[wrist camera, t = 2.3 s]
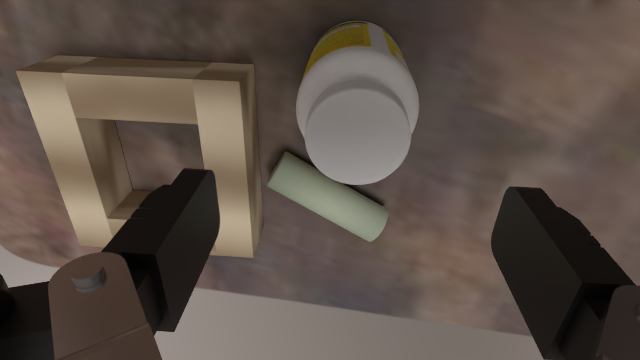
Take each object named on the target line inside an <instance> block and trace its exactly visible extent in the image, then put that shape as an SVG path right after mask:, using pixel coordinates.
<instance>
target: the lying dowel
mask: <svg viewBox="0 0 640 360" xmlns="http://www.w3.org/2000/svg"><path fill="white" fill-rule="evenodd" d="M266 186H267V187H269V188H271V189H273V190H275V191H277V192H278V193H280V194H282V195H284V196H286V197H288V198H289V199H291V200H293V201H295V202H297V203H299V204H300V205H302V206H304V207H306V208H308V209H310V210H312V211H313V212H315V213H317V214H319V215H321V216H323V217H324V218H326V219H328V220H330V221H332V222H334V223H335V224H337V225H339V226H341V227H343V228H345V229H347V230H348V231H350V232H352V233H354V234H356V235H358V236H359V237H361V238H363V239H365V240H367V241H369V242H370V241H373V240H374V239H376V238H377V237H378V236H379V234H380V233H381V232H382V230H383V228H384V226H385V224H386V222H387V218H388V210H387V209H386V208H384V207H383V206H381V205H379V204H377V203H376V202H374V201H372V200H370V199H369V198H367V197H365V196H363V195H362V194H360V193H358V192H357V191H355V190H353V189H351V188H350V187H348V186H346V185H344V184H343V183H341V182H338V181H335V180H333V179H331V178H329V177H328V176H326V175H325V174H323V173H322V172H321V171H320V170H318V169H316V168H315V167H313V166H311V165H309V164H308V163H306V162H304V161H302V160H301V159H299V158H297V157H295V156H294V155H292V154H290V153H288V152H287V151H285V152H284V153H283V155H282V157H281V158H280V160H279V161H278V163H277V164H276V166H275V167H274V169H273V171H272V173H271V175H270V177H269V179H268V182H267V184H266Z"/></svg>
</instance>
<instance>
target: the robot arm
mask: <svg viewBox="0 0 640 360" xmlns="http://www.w3.org/2000/svg"><path fill="white" fill-rule="evenodd" d="M219 228H220V212H219V204H218V196H217V188H216V180H215V175H214V172H213V171H212V170H208V169H190V168H184V169H183V170H182V171H181V172H180V174H179V175H178V176H177V178H176V179H175V180H174V182H173V183H172V184H171V185H163V186H161V187H160V188H158V189H156V190H155V191H153V192H151V193H150V194H148V195H147V197H146V198H145V199H144V200H143V201H142V203H141V204H140V205H139V208H138V209H136V210H135V211H134V212H133V214H132V215H131V218H130V219H128V220H127V221H126V222H125V223H124V225H123V226H122V227H121V228H120V229H119V231H118V232H117V233H116V234H115V236H114V237H113V238H112V239H111V240H110V242H109V243H108V244H107V245H106V246H105V248H104V249H103V250H102V251H101V252H99V253H92V254H88V255H84V256H82V257H79V258H77V259H74V260H72V261H70V262H69V263H67V264H65V265H64V266H63V267H61V268H60V269H59V270H58V271H57V272H56V273H55V274H54V275H53V276H52V278H51V279H50V281H47V282H42V283H35V284H29V285H23V286H18V287H11V288H8V286H7V284H6V282H5V280H4V279H3V276H2V275H1V274H0V360H162V358H161V355H160V352H159V349H158V346H157V344H156V341H155V338H154V335H155V333H156V331H167V332H174V331H175V329H176V327H177V324H178V323H179V320H180V318H181V316H182V314H183V312H184V309H185V307H186V305H187V303H188V301H189V298H190V296H191V294H192V292H193V290H194V287H195V285H196V283H197V281H198V279H199V276H200V274H201V272H202V270H203V268H204V266H205V263H206V261H207V259H208V257H209V255H210V252H211V250H212V248H213V246H214V244H215V241H216V239H217V237H218V233H219ZM590 234H591V233H590V232H589V231H588V230H587V228H586V227H585V226H584V225H583V224H582V223H581V221H580V220H579V219H577V218H576V217H574V216H573V215H571V214H570V213H568V212H567V211H565V210H564V209H562V208H561V207H557V206H556V205H555V204H554V203H553V201H552V200H551V199H550V198H549V197H548V195H547V194H546V193H545V192H544V191H543V190H542V189H541V188H530V187H509V188H508V189H507V190H506V192H505V194H504V197H503V200H502V203H501V206H500V210H499V213H498V216H497V219H496V222H495V226H494V229H493V232H492V237H491V247H492V252H493V255H494V257H495V260H496V262H497V264H498V266H499V268H500V270H501V272H502V274H503V276H504V278H505V280H506V282H507V284H508V286H509V289H510V291H511V293H512V295H513V297H514V299H515V301H516V303H517V305H518V307H519V309H520V311H521V313H522V315H523V317H524V320H525V322H526V324H527V326H528V328H529V330H530V332H531V334H532V336H533V338H534V340H535V342H536V344H537V346H538V349H539V351H540V353H541V355H542V357H543V359H546V360H640V286H636V285H635V284H634V283H633V281H632V280H631V279H630V278H629V277H628V276H627V275H626V273H625V272H624V271H623V270H622V269H621V268H620V266H619V265H618V264H617V263H616V262H615V261H614V260H613V258H612V257H611V256H610V255H609V254H608V253H607V251H606V250H605V249H604V248H601V247H600V243H599V242H598V241H597V240H596V239H595V238H594V236H591V235H590Z"/></svg>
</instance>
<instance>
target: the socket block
mask: <svg viewBox="0 0 640 360" xmlns="http://www.w3.org/2000/svg"><path fill="white" fill-rule="evenodd" d="M16 73H17V76H18V78H19V81H20V84H21V86H22V89H23V92H24V95H25V97H26V100H27V103H28V105H29V108H30V111H31V113H32V116H33V119H34V121H35V124H36V127H37V130H38V132H39V135H40V138H41V140H42V143H43V146H44V148H45V151H46V154H47V157H48V159H49V162H50V165H51V167H52V170H53V173H54V175H55V178H56V181H57V184H58V186H59V189H60V192H61V194H62V197H63V200H64V202H65V205H66V208H67V210H68V213H69V216H70V219H71V221H72V224H73V227H74V229H75V232H76V235H77V237H78V240H79V243H80V246H92V247H105V246H106V245H107V244H108V243H109V242H110V240H111V239H112V238H113V237H114V236H115V234H116V233H117V232H118V231H119V229H120V228H121V227H122V226H123V225H124V223H125V222H126V221H127V220H128V219H130V218H131V215H132V214H133V212H134V211H135V210H136V209H138V208H139V205H140V204H141V203H142V201H143V200H144V199H145V198H146V197H147V195H148V194H150V193H151V192H153V191H139V190H132V186H131V182H130V178H129V174H128V170H127V166H126V162H125V159H124V155H123V151H122V147H121V143H120V139H119V135H118V131H117V128H116V124H115V120H129V121H147V122H165V123H184V124H198V127H199V134H200V141H201V148H202V155H203V162H204V169H208V170H212V171H213V172H214V175H215V180H216V188H217V196H218V204H219V212H220V228H219V233H218V237H217V239H216V241H215V244H214V246H213V248H212V250H211V252H210V255H221V256H235V257H249V258H253V257H254V254H255V251H256V248H257V245H258V241H259V238H260V235H261V232H262V229H263V210H262V193H261V176H260V159H259V141H258V124H257V107H256V90H255V73H254V64H236V63H215V62H194V61H172V60H151V59H129V58H108V57H86V56H65V55H57V56H55V57H52V58H49V59H47V60H44V61H41V62H38V63H36V64H33V65H30V66H27V67H25V68H22V69H19V70H16Z"/></svg>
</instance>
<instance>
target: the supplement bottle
mask: <svg viewBox="0 0 640 360" xmlns="http://www.w3.org/2000/svg"><path fill="white" fill-rule="evenodd" d="M418 114H419V98H418V92H417V89H416V85H415V83H414V80H413V78H412V76H411V74H410V71H409V69H408V67H407V65H406V62H405V60H404V58H403V55H402V53H401V51H400V49H399V47H398V45H397V43H396V42H395V40H394V39H393V38H392V36H391V35H390V34H389V33H388V32H387V31H385V30H384V29H383V28H381V27H379V26H377V25H375V24H373V23H370V22H365V21H349V22H344V23H341V24H339V25H337V26H335V27H333V28H331V29H330V30H328V31H327V32H326V33H325V34H324V35H323V36H322V37H321V38H320V39H319V41H318V42H317V44H316V45H315V47H314V49H313V51H312V53H311V56H310V59H309V61H308V64H307V67H306V70H305V73H304V76H303V79H302V82H301V85H300V87H299V91H298V95H297V102H296V116H297V122H298V125H299V128H300V131H301V133H302V135H303V137H304V139H305V145H306V149H307V152H308V155H309V157H310V159H311V161H312V162H313V164H314V165H315V166H316V167H317V168H318V169H319V170H320V171H321V172H322V173H323V174H325V175H326V176H328V177H329V178H331V179H333V180H335V181H338V182H341V183H344V184H351V185H363V184H370V183H373V182H377V181H379V180H381V179H383V178H385V177H387V176H389V175H390V174H391V173H393V172H394V171H395V170H396V169H397V168H398V167H399V166H400V165H401V163H402V162H403V161H404V159H405V157H406V155H407V153H408V150H409V147H410V142H411V135H412V133H413V130H414V128H415V126H416V123H417V119H418Z"/></svg>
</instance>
